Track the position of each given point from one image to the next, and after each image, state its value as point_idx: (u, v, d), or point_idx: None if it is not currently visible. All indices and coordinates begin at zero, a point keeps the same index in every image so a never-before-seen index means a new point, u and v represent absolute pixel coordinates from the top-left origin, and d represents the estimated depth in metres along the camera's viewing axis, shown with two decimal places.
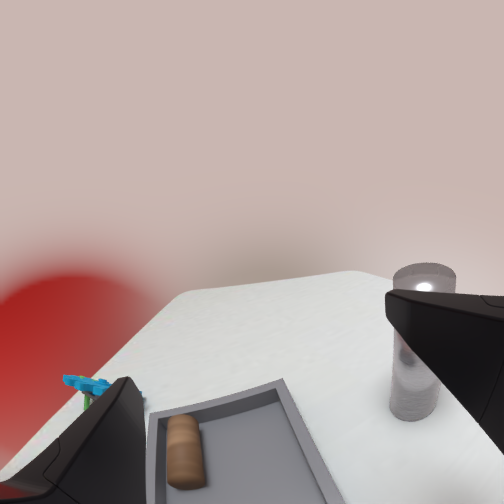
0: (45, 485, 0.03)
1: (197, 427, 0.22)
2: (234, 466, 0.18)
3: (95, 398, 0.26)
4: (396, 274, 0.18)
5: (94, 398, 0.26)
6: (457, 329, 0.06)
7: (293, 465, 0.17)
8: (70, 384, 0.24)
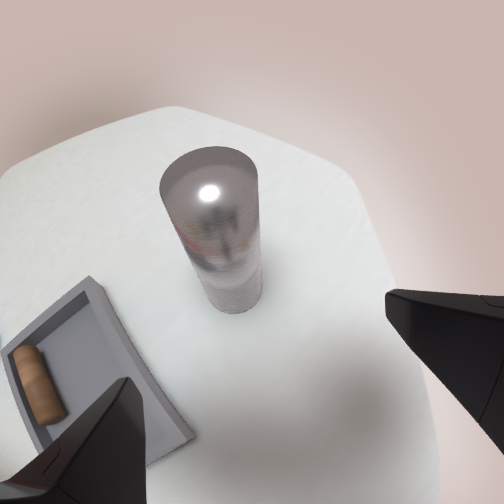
0: (45, 485, 0.03)
1: (36, 354, 0.19)
2: (79, 387, 0.19)
3: None
4: (167, 171, 0.13)
5: None
6: (457, 329, 0.06)
7: None
8: None
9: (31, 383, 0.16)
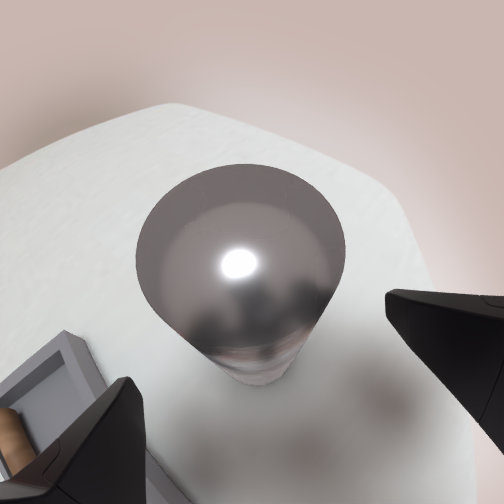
0: (45, 485, 0.03)
1: (13, 419, 0.12)
2: None
3: None
4: (152, 217, 0.06)
5: None
6: (457, 329, 0.06)
7: None
8: None
9: (11, 455, 0.10)
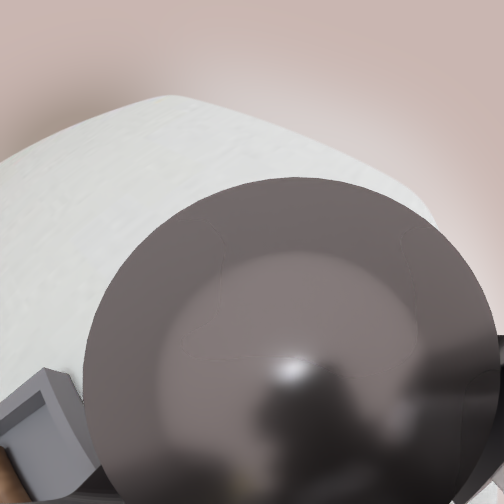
0: None
1: (0, 457, 0.08)
2: None
3: None
4: (111, 303, 0.03)
5: None
6: None
7: None
8: None
9: (2, 496, 0.06)
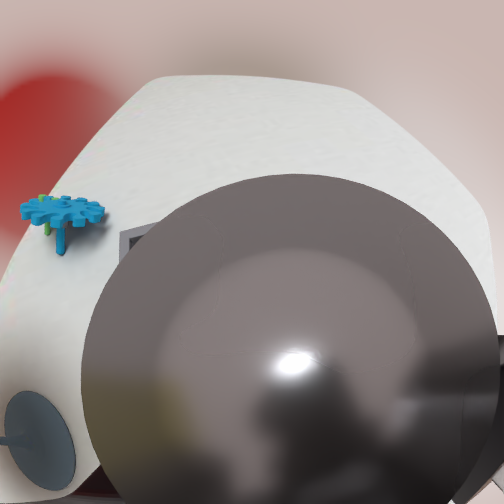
0: None
1: None
2: None
3: None
4: (109, 299, 0.03)
5: None
6: None
7: None
8: (27, 218, 0.21)
9: None
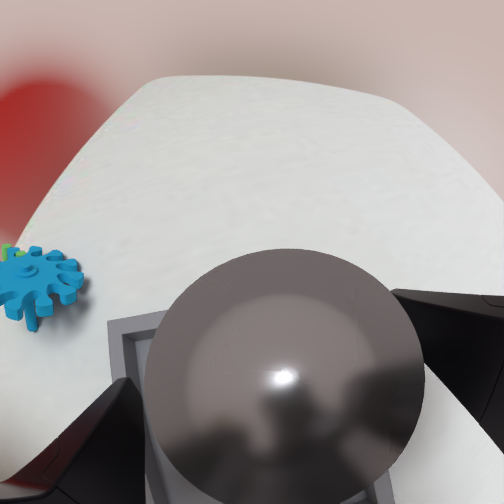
0: (44, 485, 0.03)
1: None
2: None
3: None
4: (161, 338, 0.04)
5: None
6: (457, 329, 0.06)
7: None
8: None
9: None
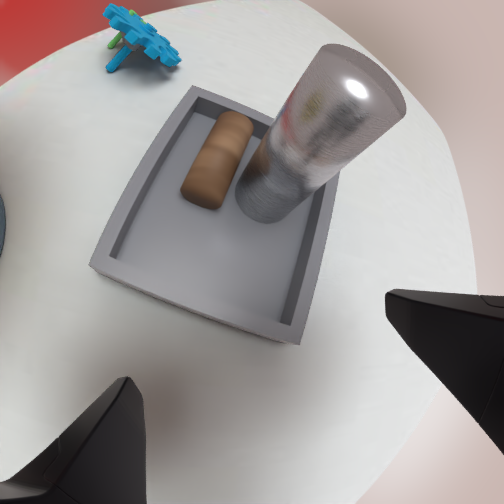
0: (45, 485, 0.03)
1: None
2: None
3: (126, 41, 0.19)
4: (331, 45, 0.10)
5: (125, 40, 0.19)
6: (457, 329, 0.06)
7: (288, 243, 0.21)
8: (108, 16, 0.15)
9: (237, 163, 0.19)
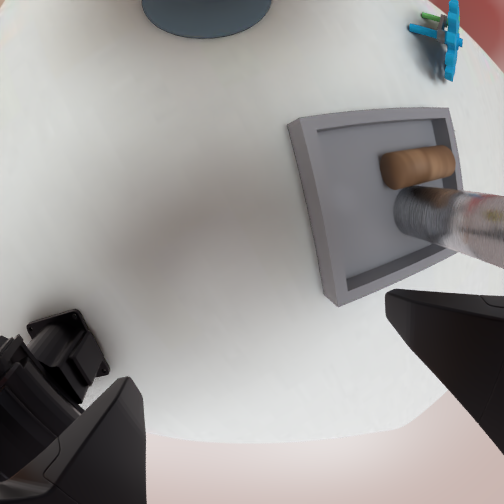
0: (45, 485, 0.03)
1: None
2: None
3: (439, 29, 0.16)
4: None
5: (439, 28, 0.16)
6: (457, 329, 0.06)
7: (392, 249, 0.23)
8: (450, 7, 0.12)
9: (423, 182, 0.20)
